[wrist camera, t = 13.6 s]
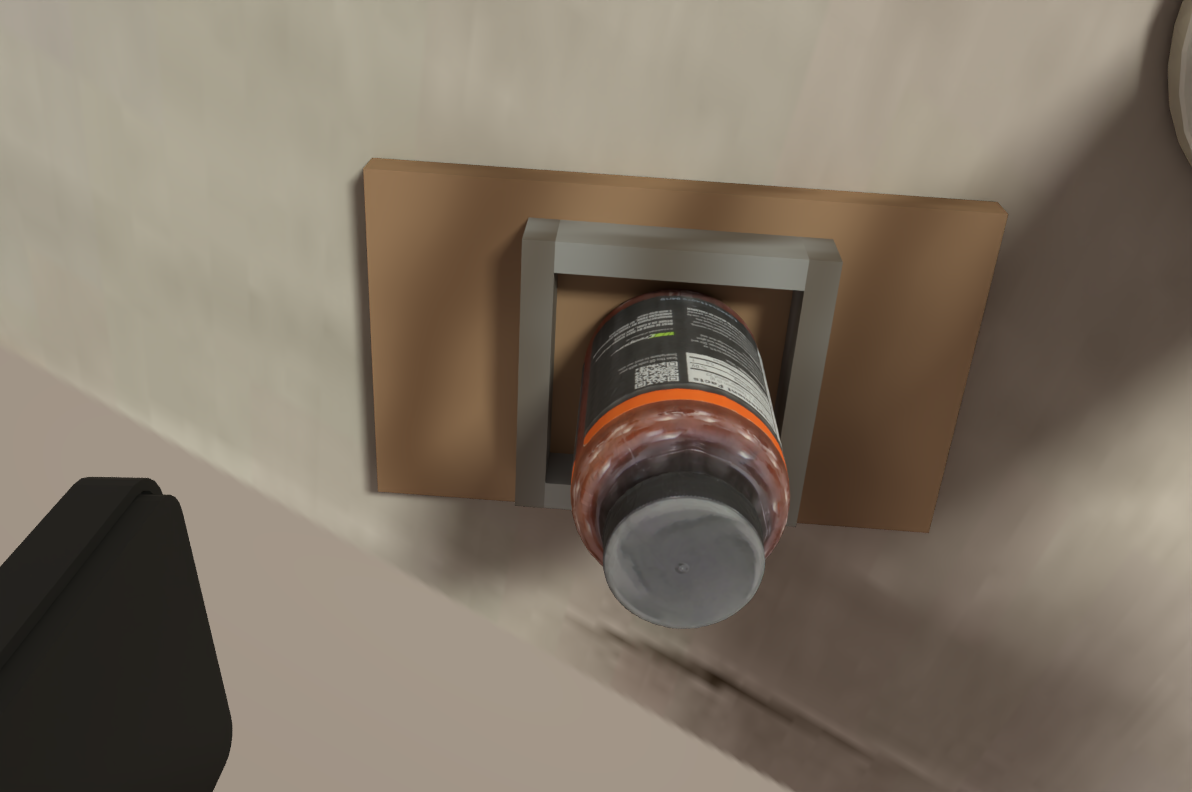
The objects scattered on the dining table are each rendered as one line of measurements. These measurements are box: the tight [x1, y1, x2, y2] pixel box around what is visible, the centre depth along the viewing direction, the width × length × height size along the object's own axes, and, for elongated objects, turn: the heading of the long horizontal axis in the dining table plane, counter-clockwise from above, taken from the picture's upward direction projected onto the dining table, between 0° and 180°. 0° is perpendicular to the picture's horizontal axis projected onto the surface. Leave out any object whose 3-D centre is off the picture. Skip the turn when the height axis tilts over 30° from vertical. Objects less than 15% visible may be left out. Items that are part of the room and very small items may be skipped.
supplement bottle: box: [570, 289, 790, 629], centre depth 31 cm, size 6×6×11 cm
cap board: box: [363, 158, 1008, 533], centre depth 36 cm, size 20×12×3 cm, turn 87°
